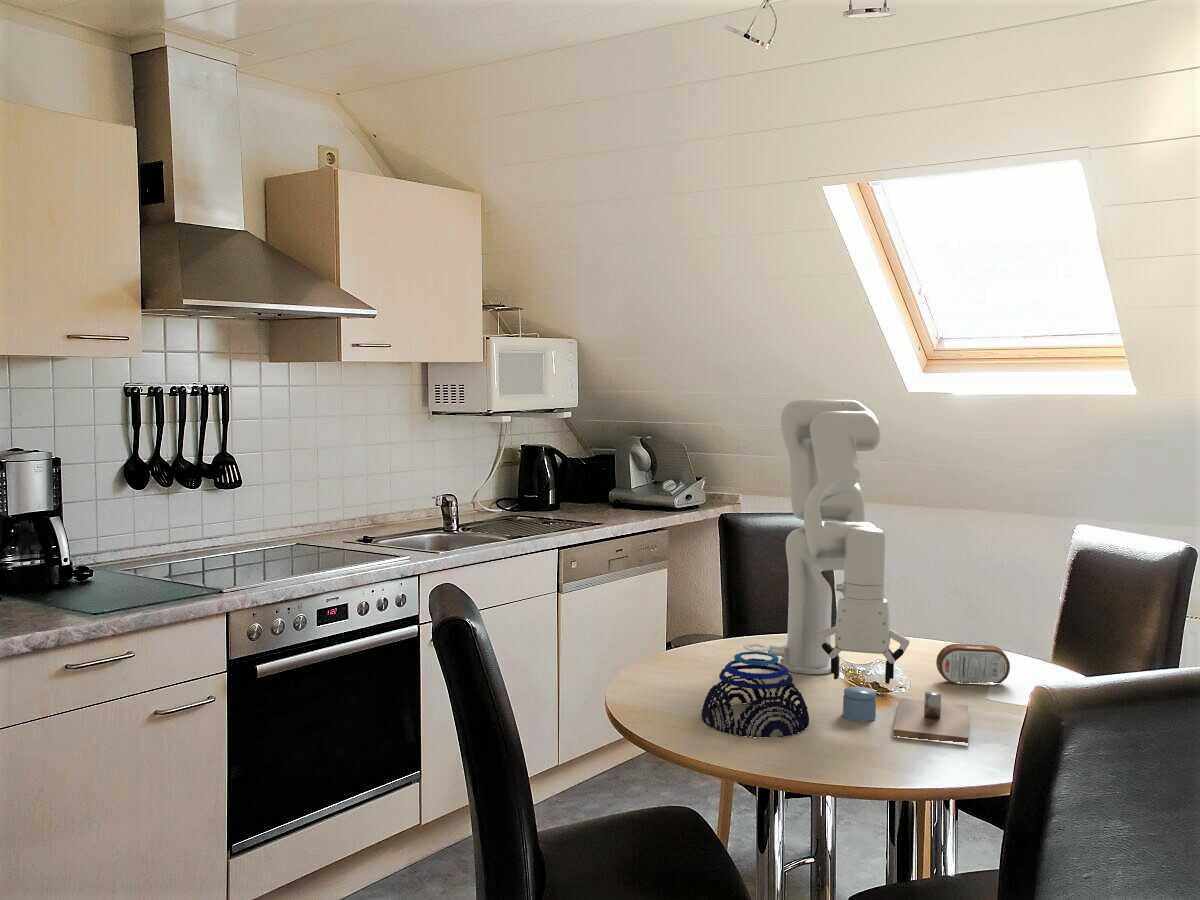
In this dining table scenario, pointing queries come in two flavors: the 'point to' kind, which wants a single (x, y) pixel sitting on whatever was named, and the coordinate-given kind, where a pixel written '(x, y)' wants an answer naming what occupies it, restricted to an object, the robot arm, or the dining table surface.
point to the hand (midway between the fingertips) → (861, 679)
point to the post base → (931, 722)
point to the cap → (859, 703)
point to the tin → (972, 664)
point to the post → (932, 705)
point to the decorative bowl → (772, 724)
